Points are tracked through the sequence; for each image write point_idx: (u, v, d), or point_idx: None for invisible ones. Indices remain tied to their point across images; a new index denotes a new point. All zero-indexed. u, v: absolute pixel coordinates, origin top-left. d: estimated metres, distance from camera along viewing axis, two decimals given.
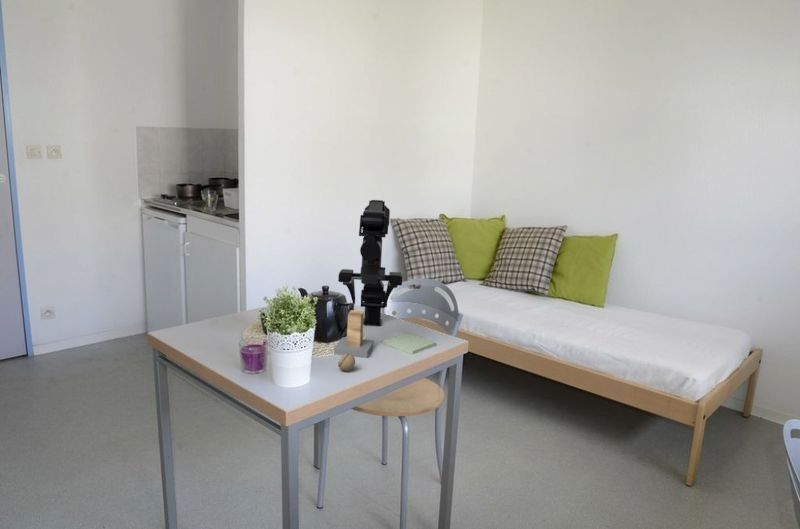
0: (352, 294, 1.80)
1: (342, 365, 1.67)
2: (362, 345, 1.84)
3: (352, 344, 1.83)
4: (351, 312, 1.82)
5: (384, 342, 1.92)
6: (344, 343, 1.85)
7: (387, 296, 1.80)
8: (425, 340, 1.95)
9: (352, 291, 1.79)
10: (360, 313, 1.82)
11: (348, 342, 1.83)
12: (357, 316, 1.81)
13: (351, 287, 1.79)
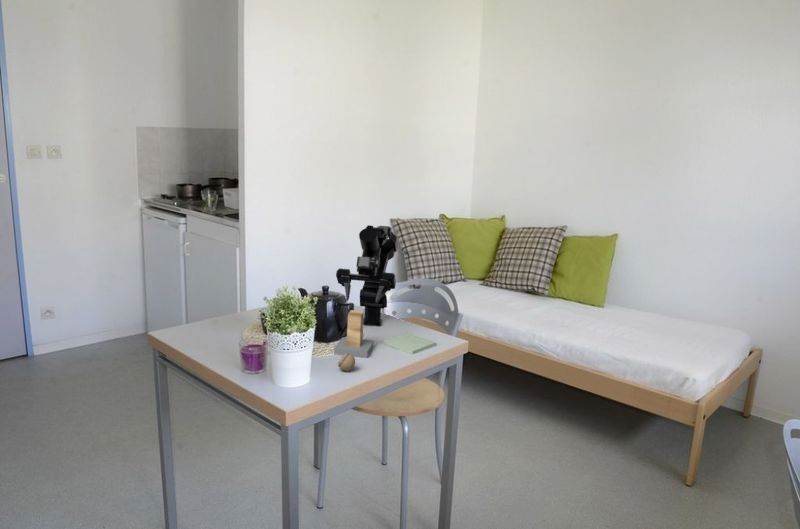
0: (347, 289, 1.91)
1: (342, 365, 1.67)
2: (362, 345, 1.84)
3: (352, 344, 1.83)
4: (351, 312, 1.82)
5: (384, 342, 1.92)
6: (344, 343, 1.85)
7: (379, 292, 1.90)
8: (425, 340, 1.95)
9: (347, 286, 1.91)
10: (360, 313, 1.82)
11: (348, 342, 1.83)
12: (357, 316, 1.81)
13: (347, 281, 1.92)
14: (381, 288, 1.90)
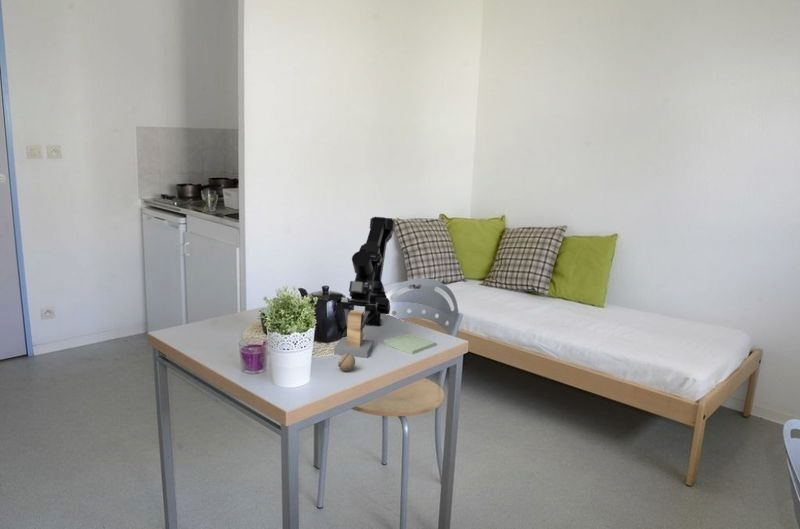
0: (347, 315, 1.83)
1: (342, 365, 1.67)
2: (362, 345, 1.84)
3: (352, 344, 1.83)
4: (351, 312, 1.82)
5: (384, 342, 1.92)
6: (344, 343, 1.85)
7: (365, 317, 1.82)
8: (425, 340, 1.95)
9: (347, 312, 1.84)
10: (360, 313, 1.82)
11: (348, 342, 1.83)
12: (357, 316, 1.81)
13: (347, 307, 1.84)
14: (367, 313, 1.83)
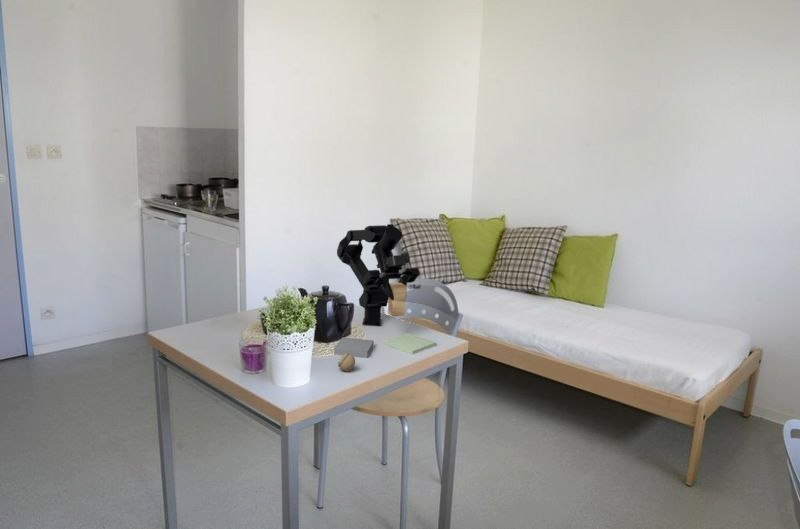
0: (390, 289, 1.93)
1: (342, 365, 1.67)
2: (362, 345, 1.84)
3: (398, 314, 1.95)
4: (394, 285, 1.93)
5: (384, 342, 1.92)
6: (344, 343, 1.85)
7: None
8: (425, 340, 1.95)
9: (389, 286, 1.94)
10: (402, 284, 1.95)
11: (395, 313, 1.94)
12: (403, 287, 1.93)
13: (387, 281, 1.94)
14: (405, 283, 1.97)
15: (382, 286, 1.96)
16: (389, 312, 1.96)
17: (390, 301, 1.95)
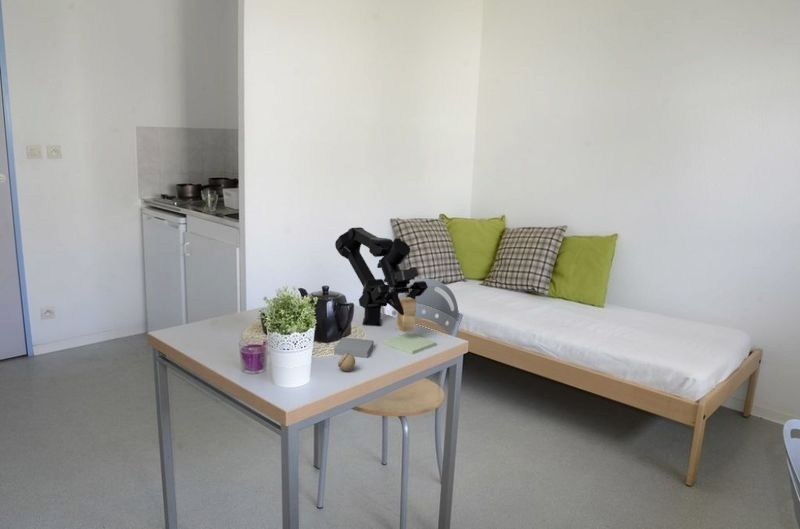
0: (399, 303, 1.91)
1: (342, 365, 1.67)
2: (362, 345, 1.84)
3: (408, 329, 1.93)
4: (404, 299, 1.91)
5: (384, 342, 1.92)
6: (344, 343, 1.85)
7: None
8: (425, 340, 1.95)
9: (398, 300, 1.92)
10: (411, 299, 1.93)
11: (405, 327, 1.92)
12: (413, 301, 1.91)
13: (397, 296, 1.92)
14: (414, 298, 1.95)
15: (391, 301, 1.93)
16: (398, 327, 1.94)
17: (399, 316, 1.93)
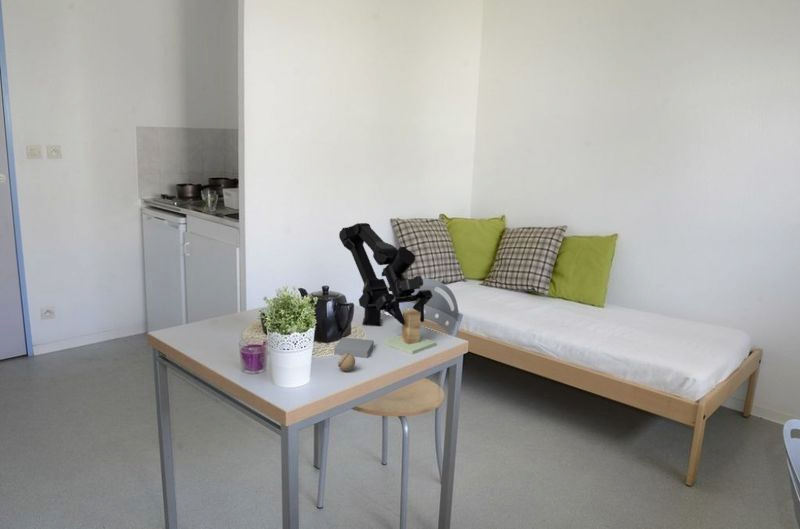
0: (400, 313, 1.89)
1: (342, 365, 1.67)
2: (362, 345, 1.84)
3: (413, 341, 1.91)
4: (408, 312, 1.90)
5: (384, 342, 1.92)
6: (344, 343, 1.85)
7: (422, 310, 1.93)
8: (425, 340, 1.95)
9: (399, 310, 1.89)
10: (416, 311, 1.91)
11: (410, 340, 1.90)
12: (417, 314, 1.90)
13: (398, 306, 1.89)
14: (422, 306, 1.94)
15: (392, 311, 1.91)
16: (403, 339, 1.92)
17: (404, 328, 1.91)
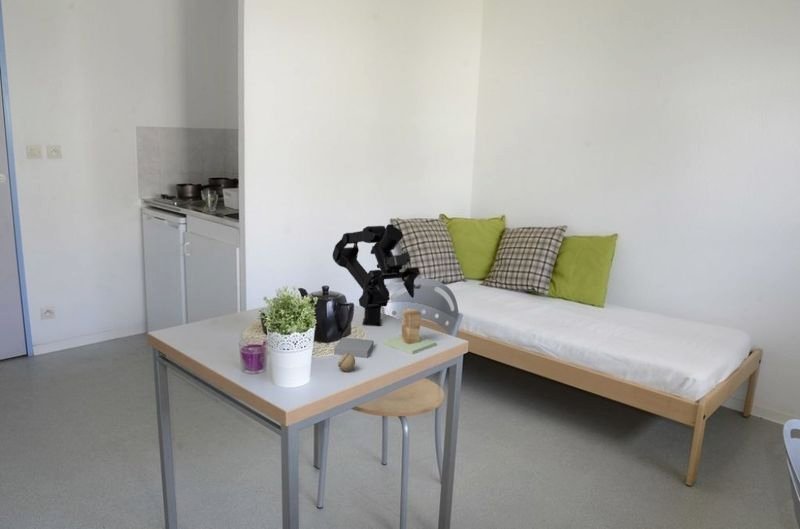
0: (385, 289, 1.93)
1: (342, 365, 1.67)
2: (362, 345, 1.84)
3: (413, 341, 1.91)
4: (408, 312, 1.90)
5: (384, 342, 1.92)
6: (344, 343, 1.85)
7: (412, 286, 1.99)
8: (425, 340, 1.95)
9: (384, 286, 1.93)
10: (416, 311, 1.91)
11: (410, 340, 1.90)
12: (417, 314, 1.90)
13: (383, 282, 1.93)
14: (412, 282, 1.99)
15: (377, 287, 1.95)
16: (403, 339, 1.92)
17: (404, 328, 1.91)
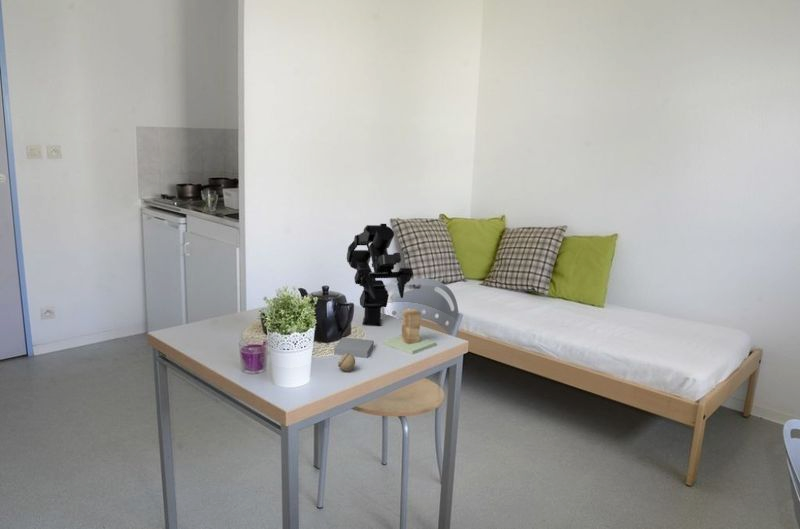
0: (372, 288, 1.94)
1: (342, 365, 1.67)
2: (362, 345, 1.84)
3: (413, 341, 1.91)
4: (408, 312, 1.90)
5: (384, 342, 1.92)
6: (344, 343, 1.85)
7: (403, 286, 1.97)
8: (425, 340, 1.95)
9: (372, 285, 1.94)
10: (416, 311, 1.91)
11: (410, 340, 1.90)
12: (417, 314, 1.90)
13: (370, 280, 1.94)
14: (403, 283, 1.98)
15: (366, 285, 1.96)
16: (403, 339, 1.92)
17: (404, 328, 1.91)
